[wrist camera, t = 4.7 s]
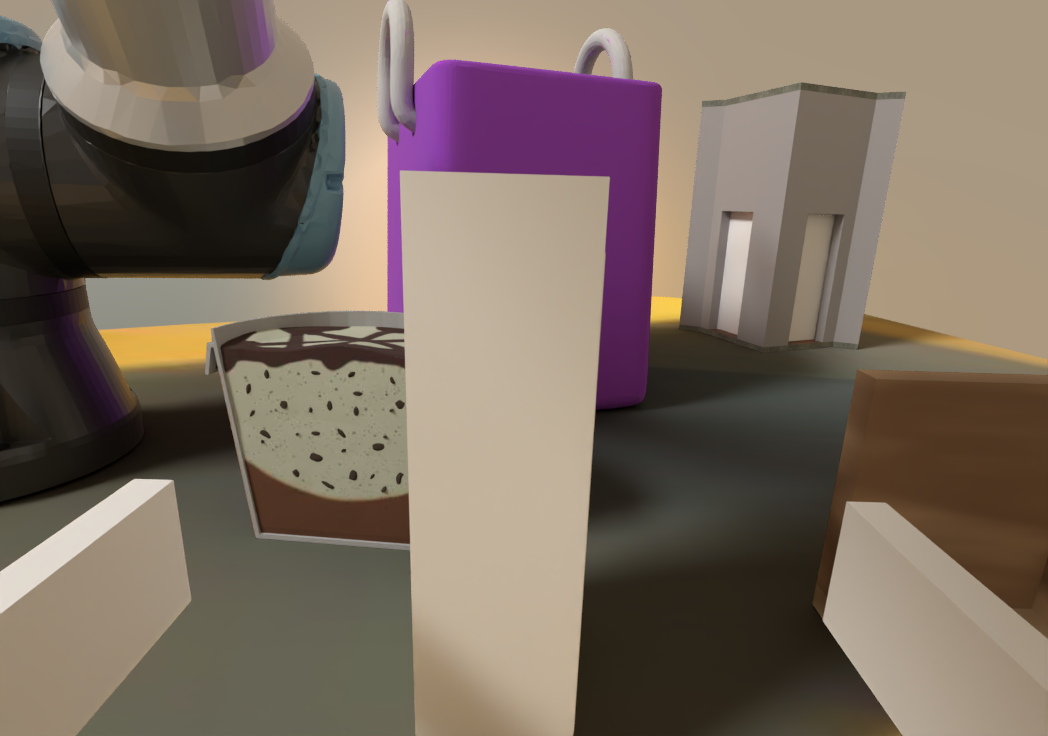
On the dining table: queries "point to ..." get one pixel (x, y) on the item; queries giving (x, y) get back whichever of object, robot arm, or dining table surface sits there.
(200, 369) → the dining table surface
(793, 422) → the dining table surface
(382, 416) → the food container
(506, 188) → the white rectangular box
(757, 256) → the grey tall angular block
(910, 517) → the wooden holder
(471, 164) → the shopping bag
